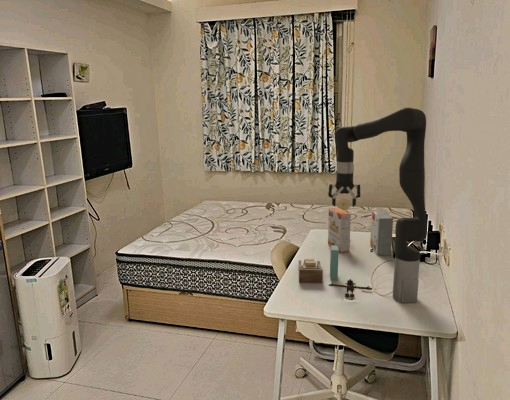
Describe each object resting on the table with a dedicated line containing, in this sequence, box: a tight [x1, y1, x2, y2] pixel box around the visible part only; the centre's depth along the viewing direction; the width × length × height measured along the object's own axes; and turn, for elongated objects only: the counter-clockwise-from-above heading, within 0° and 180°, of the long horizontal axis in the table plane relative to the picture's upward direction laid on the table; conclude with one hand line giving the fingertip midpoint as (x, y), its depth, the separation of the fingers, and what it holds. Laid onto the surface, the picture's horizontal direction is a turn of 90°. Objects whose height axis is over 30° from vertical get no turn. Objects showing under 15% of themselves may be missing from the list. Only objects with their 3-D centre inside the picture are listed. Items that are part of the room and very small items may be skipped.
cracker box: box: [327, 207, 352, 254], centre depth 228 cm, size 14×6×21 cm, turn 17°
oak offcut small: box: [303, 258, 317, 267], centre depth 198 cm, size 5×4×2 cm
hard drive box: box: [369, 209, 394, 256], centre depth 224 cm, size 16×8×20 cm, turn 178°
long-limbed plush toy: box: [328, 278, 373, 301], centre depth 177 cm, size 18×4×14 cm
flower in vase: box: [335, 196, 352, 213], centre depth 241 cm, size 13×11×25 cm
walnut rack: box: [298, 259, 324, 284], centre depth 193 cm, size 20×10×7 cm, turn 175°
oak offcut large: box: [302, 261, 317, 269], centre depth 198 cm, size 7×6×2 cm
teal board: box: [329, 246, 340, 282], centre depth 188 cm, size 6×3×15 cm, turn 174°
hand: (343, 206), depth 196 cm, fingers open, 8 cm apart
